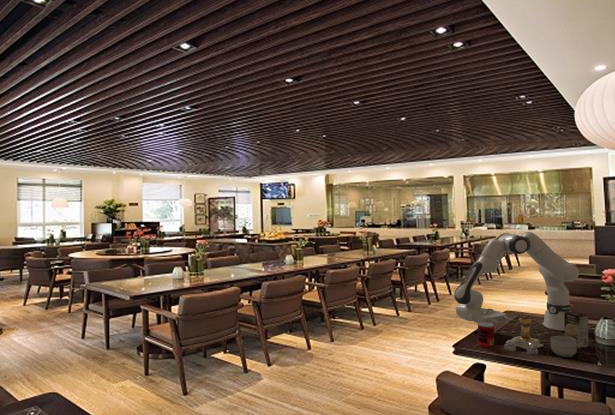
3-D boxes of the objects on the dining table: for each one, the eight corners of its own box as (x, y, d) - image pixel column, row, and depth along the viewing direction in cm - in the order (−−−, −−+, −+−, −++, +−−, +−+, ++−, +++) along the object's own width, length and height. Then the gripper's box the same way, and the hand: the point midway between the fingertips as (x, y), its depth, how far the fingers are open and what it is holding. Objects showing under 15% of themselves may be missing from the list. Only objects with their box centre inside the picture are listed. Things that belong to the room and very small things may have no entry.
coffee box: (563, 342, 222) (563, 311, 222) (573, 341, 224) (572, 310, 224) (579, 347, 213) (579, 315, 214) (589, 346, 215) (588, 314, 215)
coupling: (523, 341, 222) (523, 314, 222) (534, 344, 217) (533, 316, 217) (517, 343, 219) (516, 315, 219) (527, 346, 214) (527, 318, 215)
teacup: (566, 360, 196) (566, 342, 196) (545, 353, 206) (545, 336, 206) (586, 356, 202) (586, 339, 202) (564, 349, 211) (564, 333, 212)
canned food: (493, 344, 220) (493, 322, 220) (494, 348, 213) (494, 326, 213) (477, 342, 223) (477, 321, 223) (478, 347, 215) (478, 325, 215)
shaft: (523, 348, 213) (523, 339, 213) (533, 348, 212) (533, 339, 212) (528, 353, 205) (528, 344, 205) (538, 354, 204) (538, 345, 204)
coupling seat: (521, 340, 226) (521, 331, 226) (543, 346, 216) (543, 337, 216) (497, 346, 216) (497, 337, 216) (519, 353, 206) (519, 344, 206)
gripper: (469, 312, 235) (491, 318, 223) (493, 308, 246) (515, 313, 234) (469, 324, 235) (491, 330, 223) (493, 319, 246) (515, 324, 234)
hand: (504, 321), depth 229 cm, fingers open, 8 cm apart
